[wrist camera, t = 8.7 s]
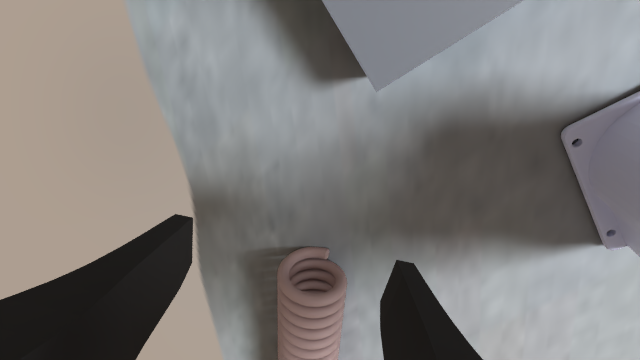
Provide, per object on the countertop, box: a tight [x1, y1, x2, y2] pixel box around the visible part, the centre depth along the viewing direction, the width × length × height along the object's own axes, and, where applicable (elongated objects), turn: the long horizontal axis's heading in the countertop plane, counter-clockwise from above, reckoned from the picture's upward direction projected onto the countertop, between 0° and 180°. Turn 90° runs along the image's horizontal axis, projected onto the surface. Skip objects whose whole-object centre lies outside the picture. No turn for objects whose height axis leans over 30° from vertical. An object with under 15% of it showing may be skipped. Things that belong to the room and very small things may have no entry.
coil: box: [277, 247, 347, 360], centre depth 27 cm, size 5×5×18 cm
